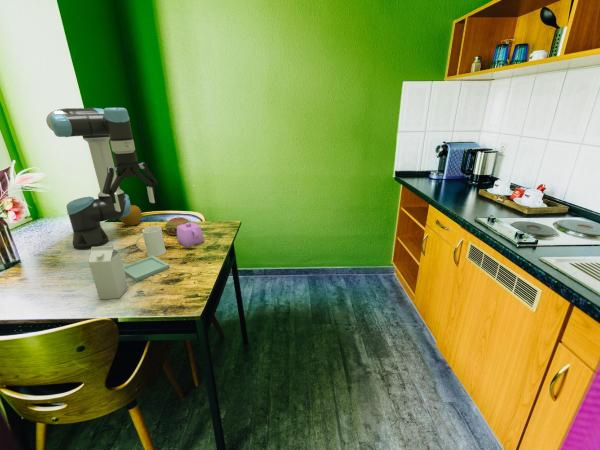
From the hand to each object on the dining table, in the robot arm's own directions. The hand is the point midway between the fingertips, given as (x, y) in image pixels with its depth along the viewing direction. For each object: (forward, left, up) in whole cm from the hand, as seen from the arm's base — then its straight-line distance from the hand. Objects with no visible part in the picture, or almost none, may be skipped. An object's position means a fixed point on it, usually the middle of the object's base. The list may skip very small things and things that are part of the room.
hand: (136, 206), depth 121 cm
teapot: (-10, +27, -28) cm, 40 cm away
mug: (-12, +8, -28) cm, 31 cm away
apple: (-62, +21, -28) cm, 72 cm away
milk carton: (+9, -18, -28) cm, 34 cm away
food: (-27, +31, -28) cm, 50 cm away
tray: (+1, -2, -27) cm, 27 cm away
